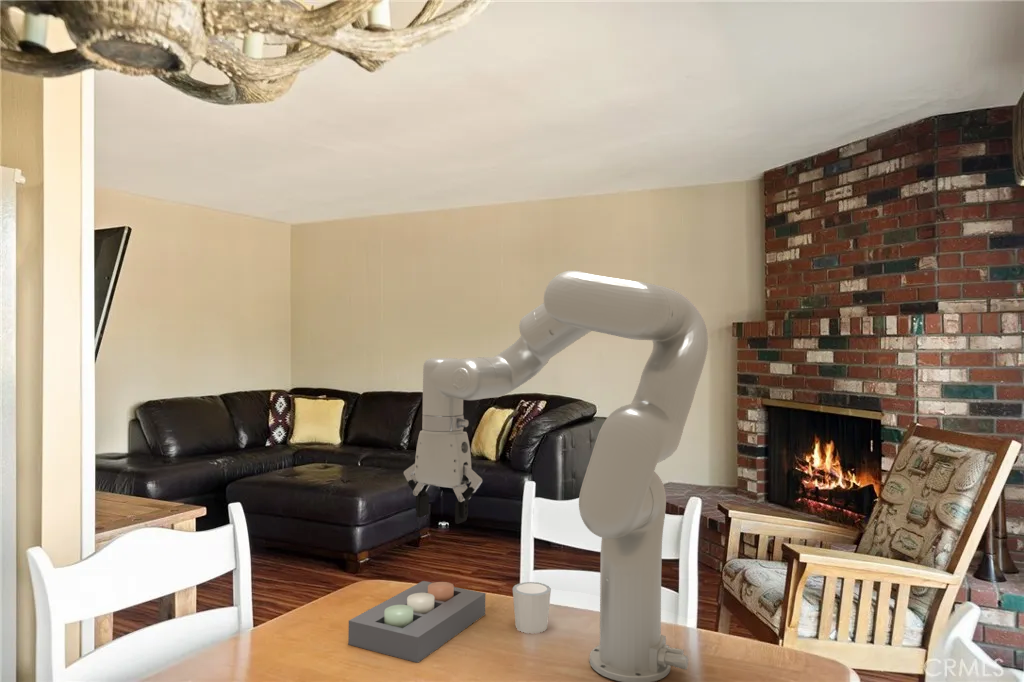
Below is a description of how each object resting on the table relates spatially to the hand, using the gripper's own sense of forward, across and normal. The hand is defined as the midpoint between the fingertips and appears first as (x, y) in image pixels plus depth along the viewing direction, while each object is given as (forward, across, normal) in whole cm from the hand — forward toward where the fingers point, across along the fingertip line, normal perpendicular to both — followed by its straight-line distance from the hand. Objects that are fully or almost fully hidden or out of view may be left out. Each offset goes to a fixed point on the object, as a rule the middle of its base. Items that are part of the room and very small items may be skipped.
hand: (441, 518), depth 127 cm
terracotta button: (+17, 0, 0) cm, 17 cm away
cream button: (+17, 0, +6) cm, 18 cm away
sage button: (+17, 0, +13) cm, 21 cm away
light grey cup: (+18, -17, -4) cm, 25 cm away
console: (+18, 0, +6) cm, 19 cm away
